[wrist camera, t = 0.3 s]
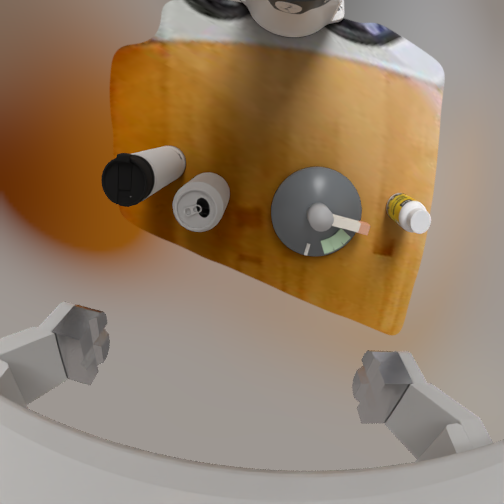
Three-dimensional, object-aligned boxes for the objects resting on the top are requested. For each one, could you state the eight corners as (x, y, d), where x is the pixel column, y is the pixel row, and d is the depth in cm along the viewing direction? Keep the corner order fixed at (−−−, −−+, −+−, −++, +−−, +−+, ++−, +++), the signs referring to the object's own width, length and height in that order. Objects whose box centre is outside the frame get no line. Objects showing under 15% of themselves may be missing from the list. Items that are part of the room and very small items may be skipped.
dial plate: (283, 156, 51) (284, 157, 50) (370, 180, 52) (372, 181, 51) (261, 243, 57) (261, 246, 56) (344, 261, 58) (345, 264, 57)
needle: (303, 222, 54) (306, 228, 50) (310, 200, 52) (313, 205, 49) (360, 236, 54) (366, 243, 51) (367, 215, 53) (374, 221, 49)
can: (234, 209, 55) (227, 230, 44) (193, 217, 56) (176, 240, 44) (225, 167, 52) (215, 178, 41) (183, 176, 53) (163, 190, 42)
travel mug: (188, 145, 51) (148, 155, 32) (184, 182, 53) (144, 212, 35) (154, 142, 51) (100, 152, 32) (150, 178, 53) (98, 206, 34)
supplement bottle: (397, 186, 52) (421, 198, 43) (415, 204, 53) (440, 219, 44) (379, 209, 54) (400, 225, 45) (398, 226, 55) (421, 244, 46)
